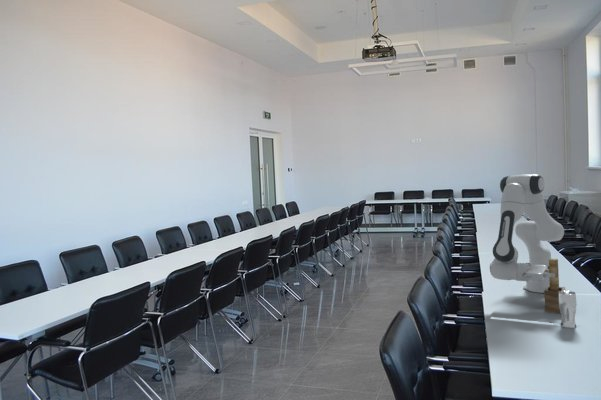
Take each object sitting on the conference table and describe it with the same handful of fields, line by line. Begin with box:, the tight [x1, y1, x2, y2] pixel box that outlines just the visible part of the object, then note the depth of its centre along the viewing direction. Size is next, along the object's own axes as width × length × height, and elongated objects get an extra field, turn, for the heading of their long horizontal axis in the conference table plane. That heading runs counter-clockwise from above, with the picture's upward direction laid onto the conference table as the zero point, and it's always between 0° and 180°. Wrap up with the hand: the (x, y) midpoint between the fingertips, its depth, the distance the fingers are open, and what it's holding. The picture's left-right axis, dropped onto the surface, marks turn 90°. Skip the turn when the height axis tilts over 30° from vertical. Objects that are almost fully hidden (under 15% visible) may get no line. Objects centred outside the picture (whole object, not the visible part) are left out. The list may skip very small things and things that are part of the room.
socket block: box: [543, 286, 566, 314], centre depth 236 cm, size 10×8×10 cm
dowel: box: [549, 258, 560, 291], centre depth 236 cm, size 4×4×16 cm
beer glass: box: [559, 290, 578, 329], centre depth 216 cm, size 7×7×15 cm
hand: (555, 273), depth 235 cm, fingers closed on dowel, 4 cm apart
